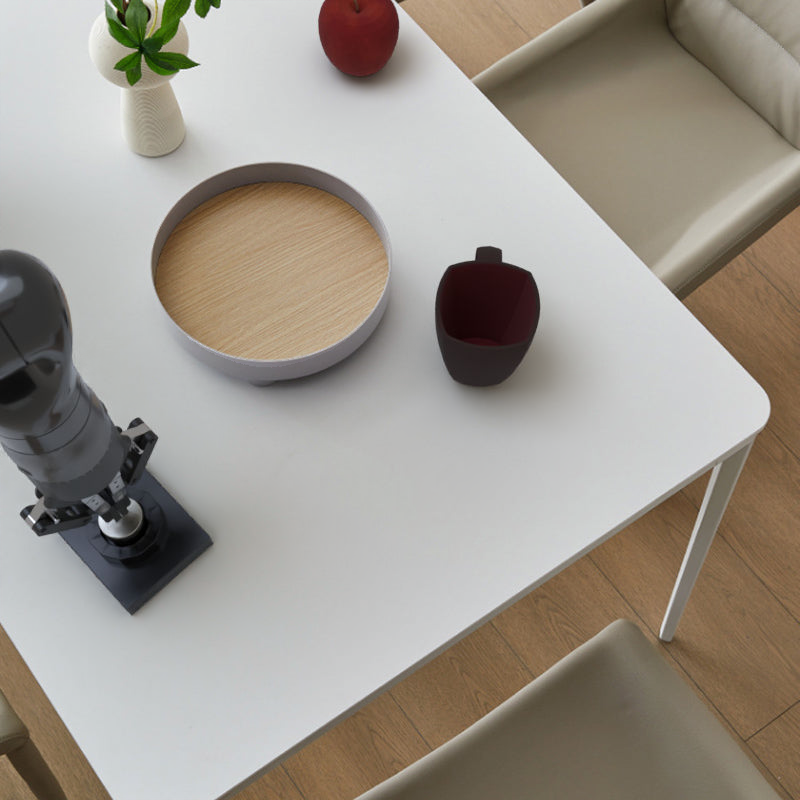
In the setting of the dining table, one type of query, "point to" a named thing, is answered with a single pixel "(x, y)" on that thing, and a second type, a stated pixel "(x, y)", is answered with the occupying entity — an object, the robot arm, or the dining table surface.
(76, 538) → the control block
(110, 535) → the button
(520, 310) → the cup
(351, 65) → the apple
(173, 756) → the dining table surface
